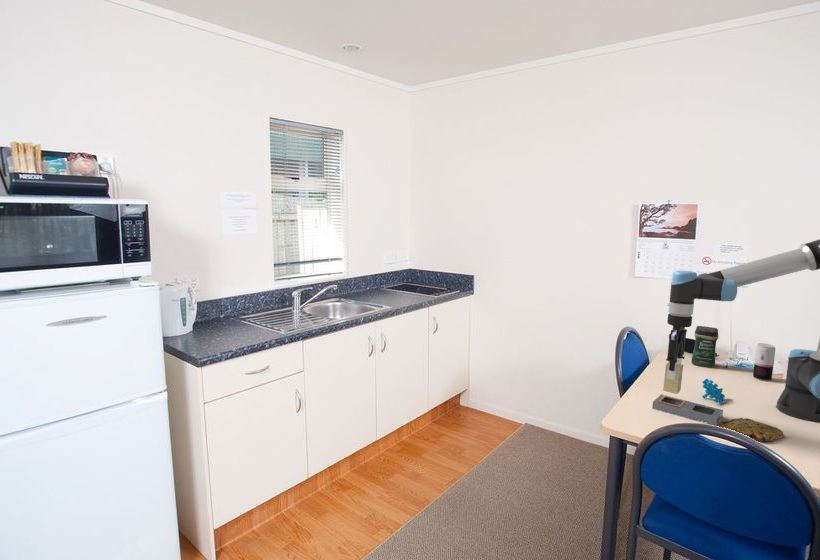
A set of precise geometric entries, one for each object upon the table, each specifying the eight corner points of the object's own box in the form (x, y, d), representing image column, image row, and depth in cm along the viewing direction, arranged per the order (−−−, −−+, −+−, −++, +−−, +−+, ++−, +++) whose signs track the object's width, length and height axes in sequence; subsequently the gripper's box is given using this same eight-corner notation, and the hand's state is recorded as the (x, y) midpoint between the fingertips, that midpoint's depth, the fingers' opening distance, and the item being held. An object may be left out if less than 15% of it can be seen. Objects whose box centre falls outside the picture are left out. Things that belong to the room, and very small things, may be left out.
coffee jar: (690, 365, 220) (694, 327, 218) (691, 361, 227) (695, 323, 224) (715, 369, 215) (719, 330, 212) (715, 364, 221) (719, 326, 219)
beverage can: (775, 380, 201) (779, 346, 199) (765, 382, 199) (769, 348, 197) (759, 375, 207) (763, 342, 205) (749, 377, 205) (753, 344, 203)
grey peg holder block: (722, 416, 163) (723, 409, 163) (716, 425, 156) (717, 417, 156) (660, 400, 177) (661, 393, 177) (652, 408, 170) (652, 401, 170)
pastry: (794, 449, 142) (795, 440, 142) (727, 438, 148) (728, 429, 148) (774, 425, 158) (775, 417, 158) (714, 417, 164) (715, 409, 164)
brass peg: (680, 390, 169) (683, 364, 168) (676, 394, 166) (679, 367, 165) (666, 387, 173) (669, 361, 171) (663, 390, 169) (666, 364, 168)
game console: (718, 355, 237) (719, 338, 235) (704, 360, 229) (706, 342, 228) (686, 348, 250) (688, 331, 248) (672, 352, 242) (674, 335, 241)
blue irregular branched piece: (716, 402, 172) (700, 378, 177) (702, 409, 176) (687, 385, 181) (732, 401, 177) (717, 377, 183) (719, 408, 181) (704, 384, 187)
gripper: (675, 309, 174) (669, 369, 177) (661, 316, 162) (654, 380, 165) (698, 312, 169) (691, 374, 172) (685, 319, 156) (678, 386, 160)
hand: (673, 377), depth 169 cm, fingers closed on brass peg, 4 cm apart
